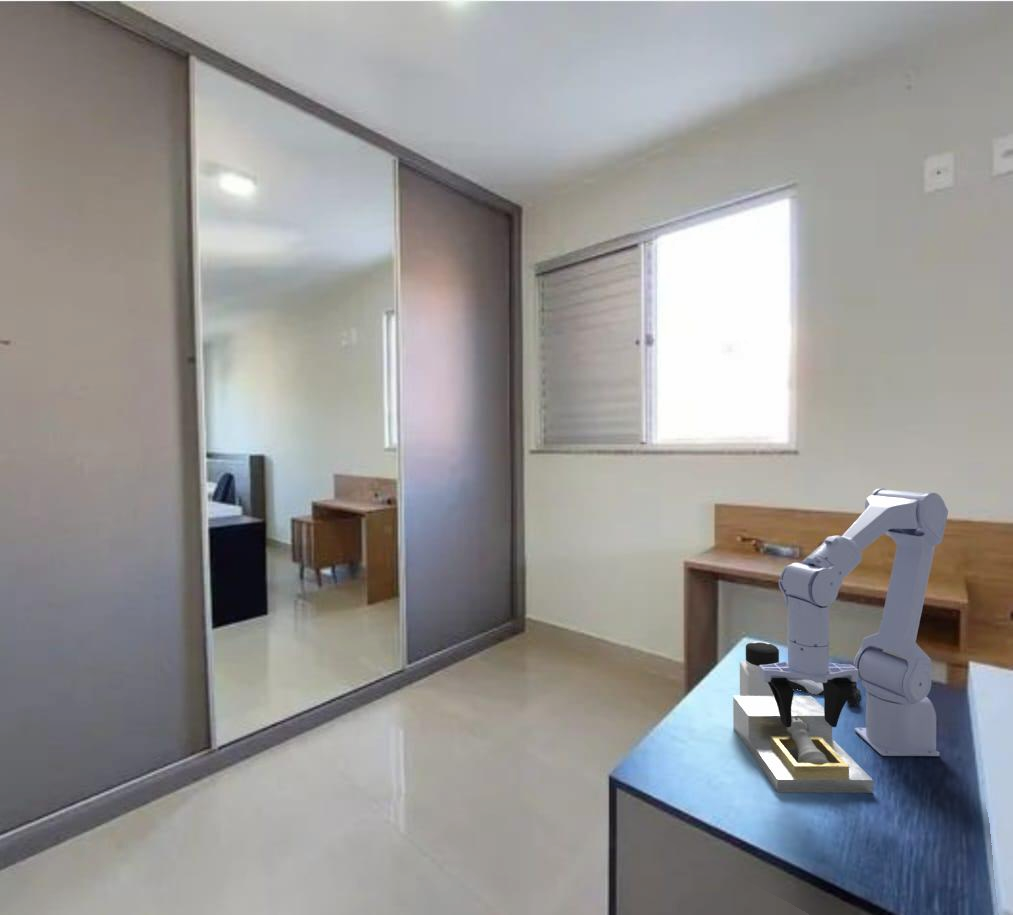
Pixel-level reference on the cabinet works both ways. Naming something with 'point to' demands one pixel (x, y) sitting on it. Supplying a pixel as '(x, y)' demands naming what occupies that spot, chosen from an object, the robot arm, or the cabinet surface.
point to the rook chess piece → (805, 743)
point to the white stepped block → (779, 751)
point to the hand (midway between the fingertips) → (808, 723)
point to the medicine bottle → (756, 668)
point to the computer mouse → (818, 688)
